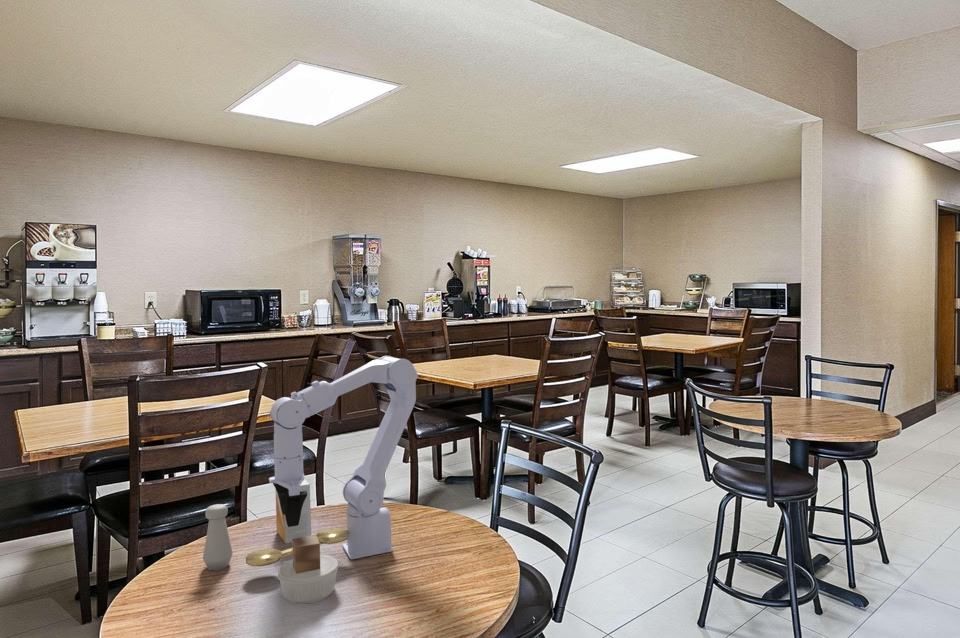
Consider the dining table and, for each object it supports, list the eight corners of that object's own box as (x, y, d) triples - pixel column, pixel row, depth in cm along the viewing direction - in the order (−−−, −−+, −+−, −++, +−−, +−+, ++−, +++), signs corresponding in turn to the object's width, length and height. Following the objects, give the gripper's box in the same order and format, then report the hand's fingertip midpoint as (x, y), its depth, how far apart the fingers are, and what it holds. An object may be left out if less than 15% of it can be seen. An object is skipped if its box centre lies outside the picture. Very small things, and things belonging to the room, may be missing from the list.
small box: (276, 532, 148) (274, 479, 148) (302, 527, 152) (301, 475, 151) (284, 544, 141) (283, 488, 141) (312, 538, 145) (310, 483, 144)
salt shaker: (222, 573, 127) (220, 511, 126) (197, 571, 128) (195, 510, 127) (238, 561, 132) (236, 502, 132) (214, 559, 134) (212, 500, 133)
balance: (345, 552, 136) (345, 525, 136) (353, 565, 130) (352, 537, 130) (245, 571, 127) (244, 543, 127) (247, 586, 121) (246, 556, 121)
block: (316, 559, 121) (315, 534, 121) (320, 568, 117) (319, 543, 117) (292, 564, 119) (292, 538, 119) (296, 573, 115) (295, 547, 115)
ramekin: (266, 595, 118) (266, 568, 117) (315, 574, 126) (314, 549, 126) (301, 614, 111) (300, 585, 110) (350, 590, 119) (349, 563, 119)
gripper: (264, 449, 133) (266, 511, 133) (272, 466, 119) (274, 535, 120) (298, 445, 136) (299, 506, 136) (309, 462, 122) (311, 528, 123)
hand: (290, 519), depth 128 cm, fingers open, 7 cm apart
